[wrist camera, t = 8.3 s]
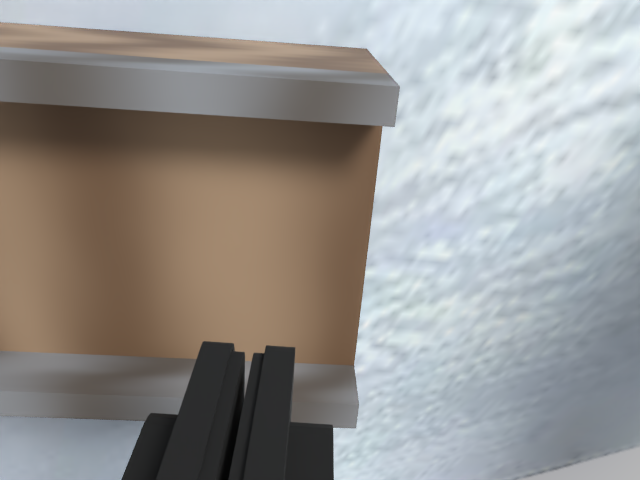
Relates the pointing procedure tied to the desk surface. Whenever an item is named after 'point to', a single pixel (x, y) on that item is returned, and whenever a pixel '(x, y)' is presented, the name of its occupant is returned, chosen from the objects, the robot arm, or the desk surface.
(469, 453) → the desk surface
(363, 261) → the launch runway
